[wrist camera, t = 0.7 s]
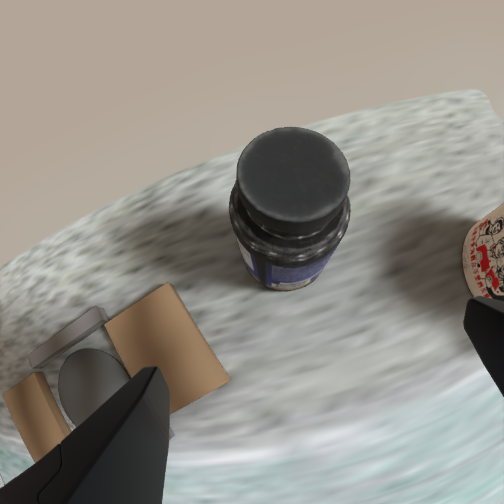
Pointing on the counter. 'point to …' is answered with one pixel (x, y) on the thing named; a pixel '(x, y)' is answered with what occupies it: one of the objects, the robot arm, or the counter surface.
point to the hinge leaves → (114, 367)
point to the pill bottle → (289, 206)
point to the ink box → (1, 482)
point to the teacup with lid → (486, 256)
